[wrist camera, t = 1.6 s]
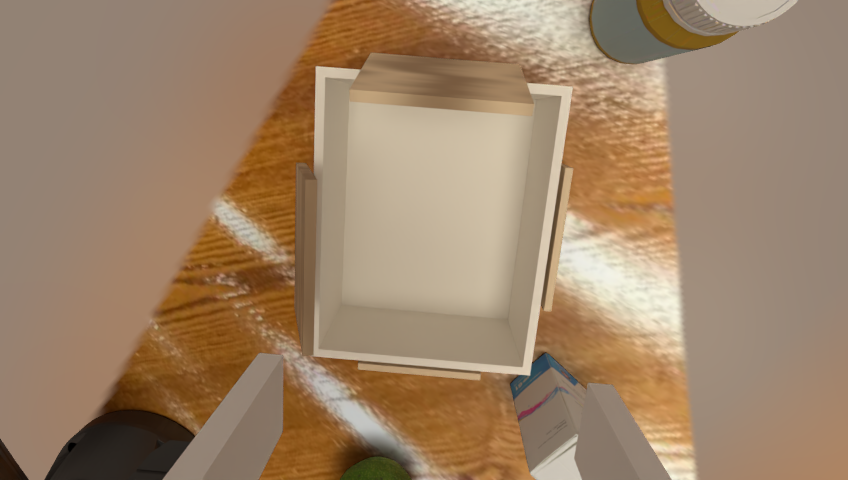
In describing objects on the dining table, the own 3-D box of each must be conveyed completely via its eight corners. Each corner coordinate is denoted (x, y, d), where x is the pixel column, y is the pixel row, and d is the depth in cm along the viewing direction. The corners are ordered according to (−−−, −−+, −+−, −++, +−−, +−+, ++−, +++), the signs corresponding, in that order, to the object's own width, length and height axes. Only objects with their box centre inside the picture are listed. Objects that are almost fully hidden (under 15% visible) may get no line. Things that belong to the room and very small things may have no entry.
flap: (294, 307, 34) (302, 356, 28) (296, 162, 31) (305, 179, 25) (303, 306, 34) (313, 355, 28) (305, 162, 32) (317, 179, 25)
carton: (335, 316, 45) (309, 366, 36) (344, 76, 39) (316, 66, 31) (520, 333, 44) (540, 387, 36) (554, 93, 39) (586, 87, 30)
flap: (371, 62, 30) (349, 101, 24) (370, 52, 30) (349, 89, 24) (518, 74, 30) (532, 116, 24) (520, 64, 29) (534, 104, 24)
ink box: (505, 384, 46) (526, 475, 34) (545, 350, 45) (581, 432, 33) (567, 441, 47) (607, 547, 36) (607, 409, 46) (662, 507, 35)
